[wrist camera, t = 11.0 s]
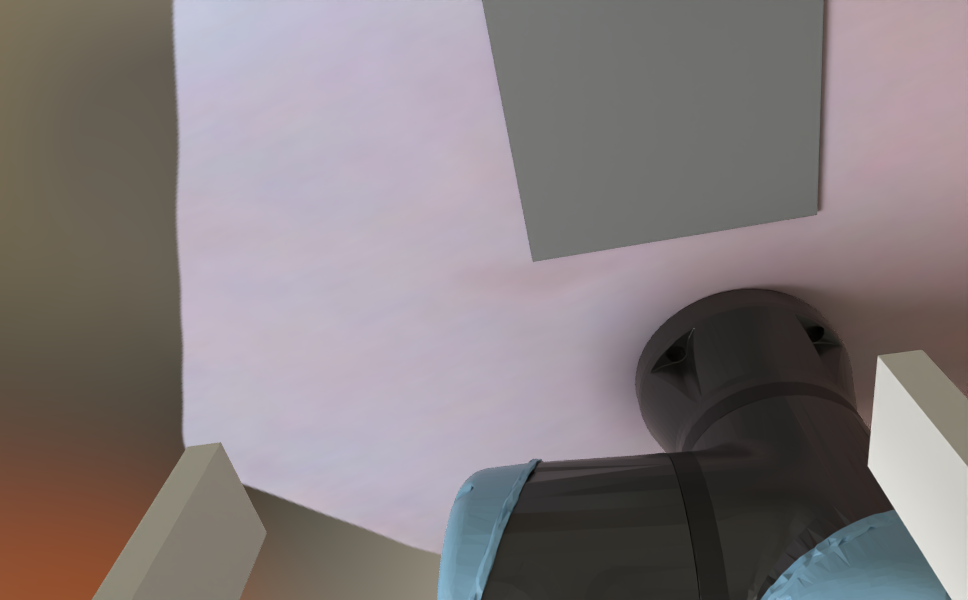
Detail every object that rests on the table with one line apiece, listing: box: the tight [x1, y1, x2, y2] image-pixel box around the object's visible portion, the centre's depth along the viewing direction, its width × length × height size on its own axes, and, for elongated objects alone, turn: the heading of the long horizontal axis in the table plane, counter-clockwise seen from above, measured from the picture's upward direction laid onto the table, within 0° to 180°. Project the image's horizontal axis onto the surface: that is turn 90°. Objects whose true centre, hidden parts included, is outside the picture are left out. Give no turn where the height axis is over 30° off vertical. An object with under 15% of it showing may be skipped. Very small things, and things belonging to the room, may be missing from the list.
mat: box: [482, 0, 824, 262], centre depth 42 cm, size 19×19×1 cm
